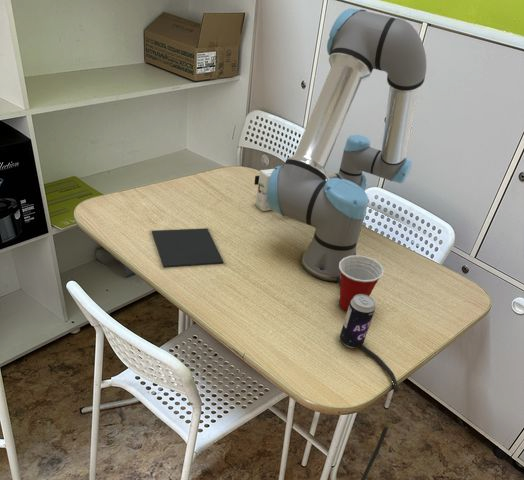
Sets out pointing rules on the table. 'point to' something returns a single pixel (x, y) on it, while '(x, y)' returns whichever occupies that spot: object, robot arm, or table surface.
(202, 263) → the mat
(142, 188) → the table surface
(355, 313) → the beverage can
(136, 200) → the table surface
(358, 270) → the plastic cup
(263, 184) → the ink box
